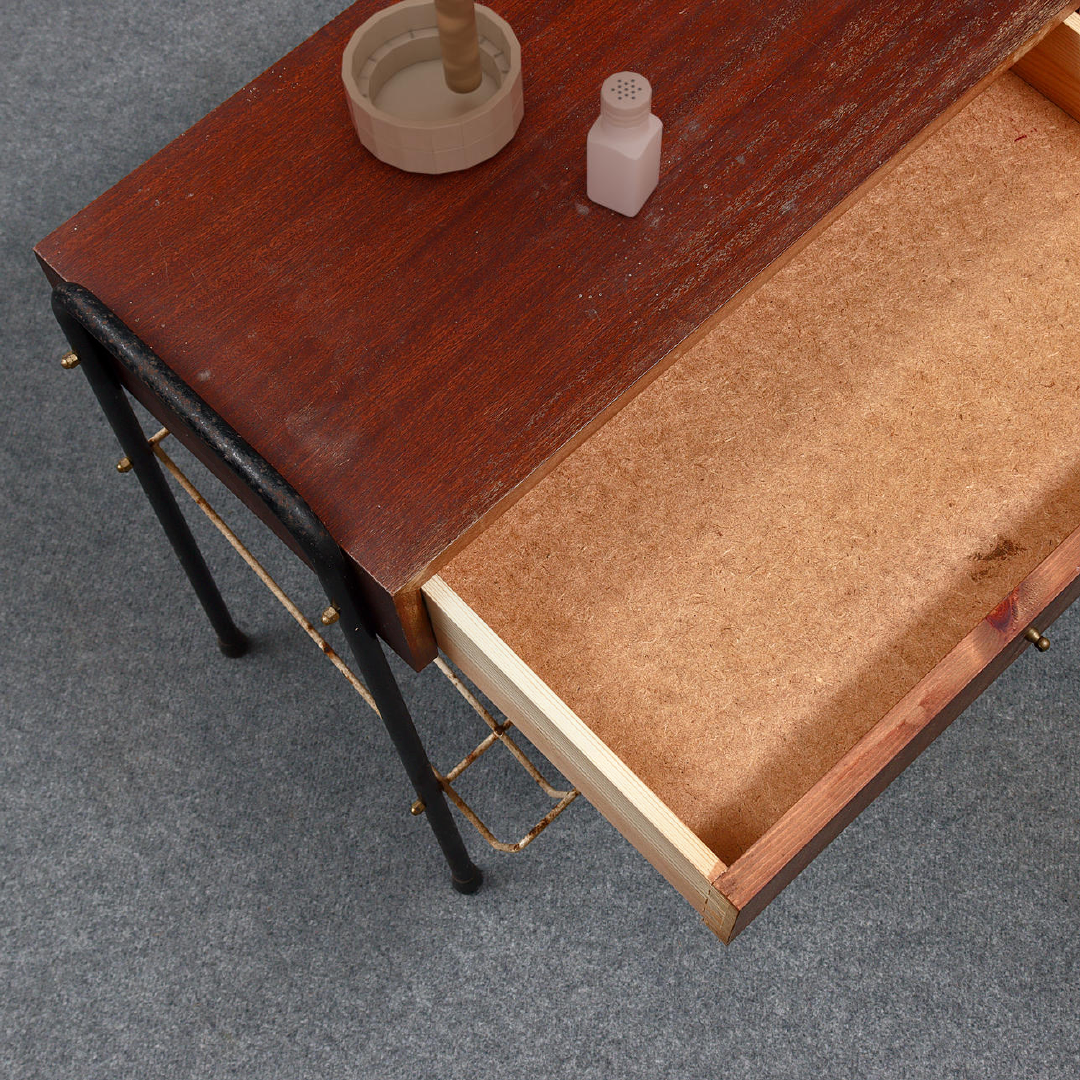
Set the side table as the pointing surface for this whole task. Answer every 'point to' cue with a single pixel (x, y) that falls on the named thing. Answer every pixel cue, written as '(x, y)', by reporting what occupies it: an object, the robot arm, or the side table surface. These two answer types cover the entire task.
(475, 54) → the stirring stick
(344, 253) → the side table surface
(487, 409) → the side table surface
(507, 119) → the bowl
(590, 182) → the salt shaker
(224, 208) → the side table surface
